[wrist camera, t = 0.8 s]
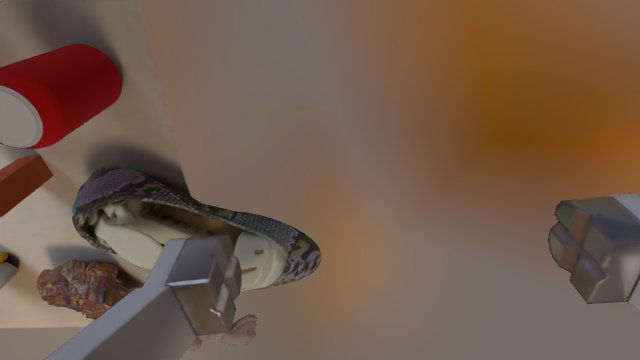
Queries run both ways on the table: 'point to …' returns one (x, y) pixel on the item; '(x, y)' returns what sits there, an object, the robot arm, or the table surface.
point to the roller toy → (6, 270)
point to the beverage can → (54, 94)
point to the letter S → (21, 181)
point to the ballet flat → (185, 227)
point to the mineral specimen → (82, 287)
